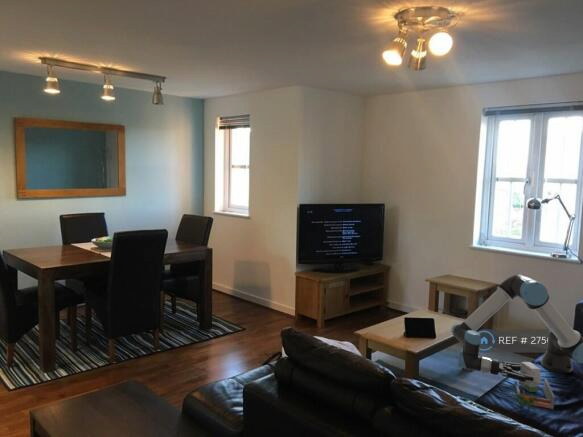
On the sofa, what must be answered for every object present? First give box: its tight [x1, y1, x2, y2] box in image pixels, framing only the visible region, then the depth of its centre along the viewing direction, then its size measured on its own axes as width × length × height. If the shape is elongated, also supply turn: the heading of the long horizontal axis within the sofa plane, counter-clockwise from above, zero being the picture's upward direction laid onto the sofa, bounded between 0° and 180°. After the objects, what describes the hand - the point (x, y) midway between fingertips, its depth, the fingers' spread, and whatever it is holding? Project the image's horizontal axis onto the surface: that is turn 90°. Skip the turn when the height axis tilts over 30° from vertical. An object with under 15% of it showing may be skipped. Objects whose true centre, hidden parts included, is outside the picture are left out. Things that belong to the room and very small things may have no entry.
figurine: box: [509, 389, 538, 411], centre depth 216 cm, size 3×12×8 cm, turn 61°
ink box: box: [518, 361, 542, 393], centre depth 234 cm, size 8×5×12 cm, turn 10°
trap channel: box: [513, 378, 556, 410], centre depth 227 cm, size 14×19×6 cm
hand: (540, 375), depth 232 cm, fingers closed on ink box, 9 cm apart
